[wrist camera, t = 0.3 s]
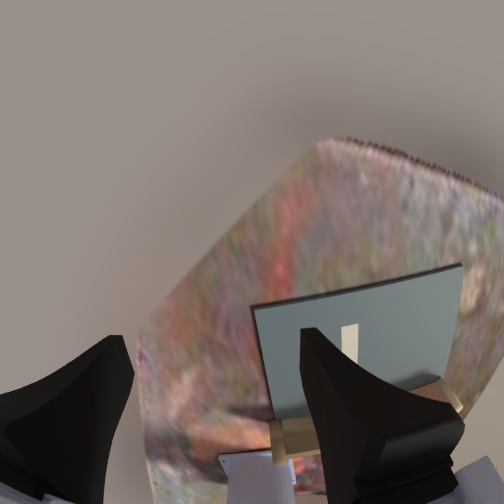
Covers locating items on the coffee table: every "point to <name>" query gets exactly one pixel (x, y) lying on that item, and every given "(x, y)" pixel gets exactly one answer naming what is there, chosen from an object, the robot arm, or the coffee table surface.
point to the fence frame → (292, 439)
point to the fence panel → (439, 393)
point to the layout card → (365, 333)
